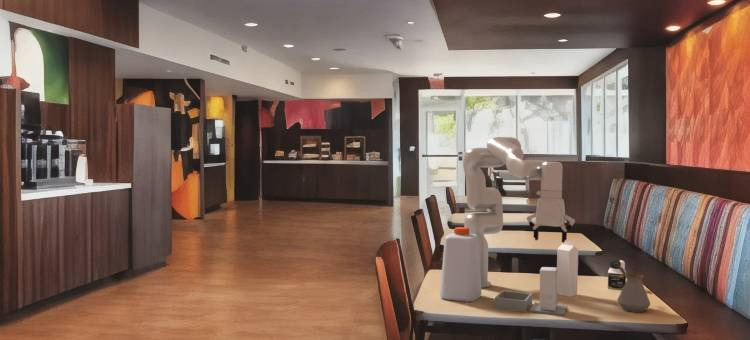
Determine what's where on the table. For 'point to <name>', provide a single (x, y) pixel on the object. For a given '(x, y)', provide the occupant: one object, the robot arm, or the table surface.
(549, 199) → the robot arm
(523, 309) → the bin
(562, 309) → the pad
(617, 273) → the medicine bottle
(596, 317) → the table surface
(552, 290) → the skincare box
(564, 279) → the milk
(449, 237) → the plastic bottle
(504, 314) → the table surface
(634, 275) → the coffee pot
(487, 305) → the table surface
